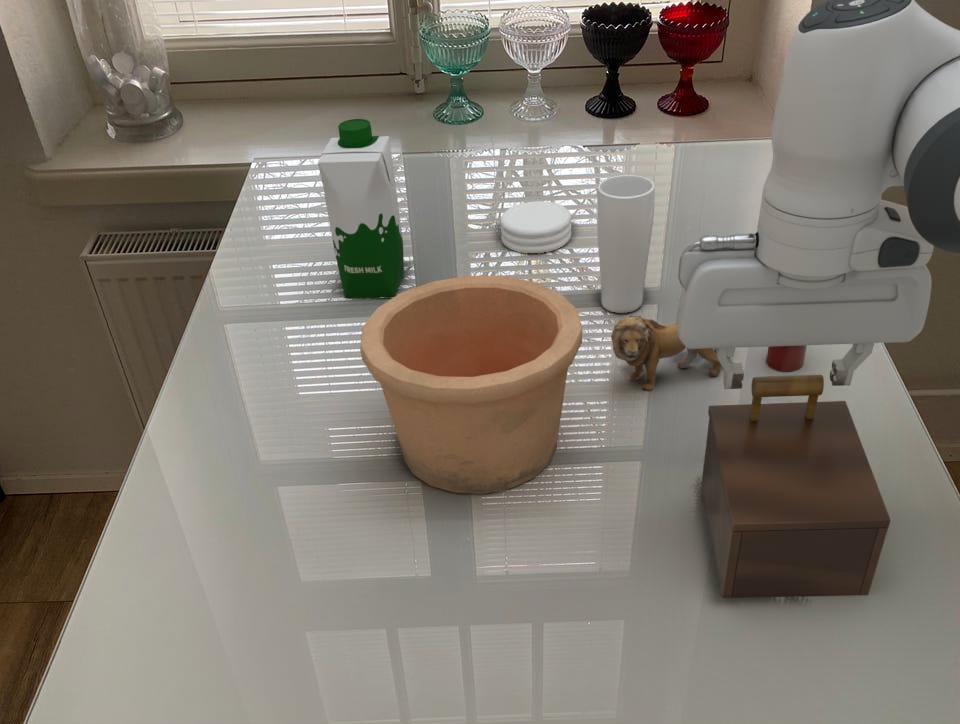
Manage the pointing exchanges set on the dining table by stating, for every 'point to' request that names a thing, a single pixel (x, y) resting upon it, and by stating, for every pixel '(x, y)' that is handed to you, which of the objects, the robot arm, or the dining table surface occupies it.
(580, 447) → the dining table surface
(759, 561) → the box
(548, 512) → the dining table surface
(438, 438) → the pottery
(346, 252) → the milk carton
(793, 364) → the peg doll
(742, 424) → the lid
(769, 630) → the dining table surface
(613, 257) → the drinking glass
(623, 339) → the lion figurine
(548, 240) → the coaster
